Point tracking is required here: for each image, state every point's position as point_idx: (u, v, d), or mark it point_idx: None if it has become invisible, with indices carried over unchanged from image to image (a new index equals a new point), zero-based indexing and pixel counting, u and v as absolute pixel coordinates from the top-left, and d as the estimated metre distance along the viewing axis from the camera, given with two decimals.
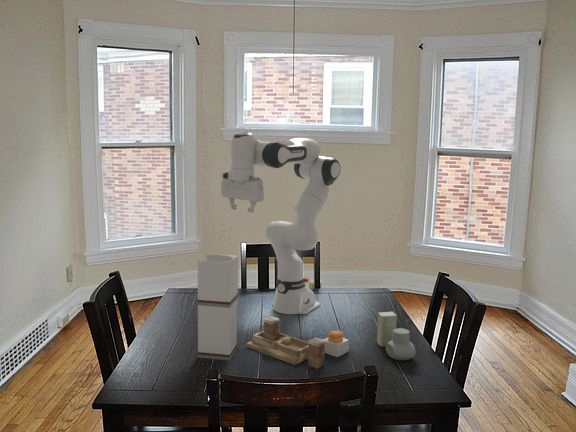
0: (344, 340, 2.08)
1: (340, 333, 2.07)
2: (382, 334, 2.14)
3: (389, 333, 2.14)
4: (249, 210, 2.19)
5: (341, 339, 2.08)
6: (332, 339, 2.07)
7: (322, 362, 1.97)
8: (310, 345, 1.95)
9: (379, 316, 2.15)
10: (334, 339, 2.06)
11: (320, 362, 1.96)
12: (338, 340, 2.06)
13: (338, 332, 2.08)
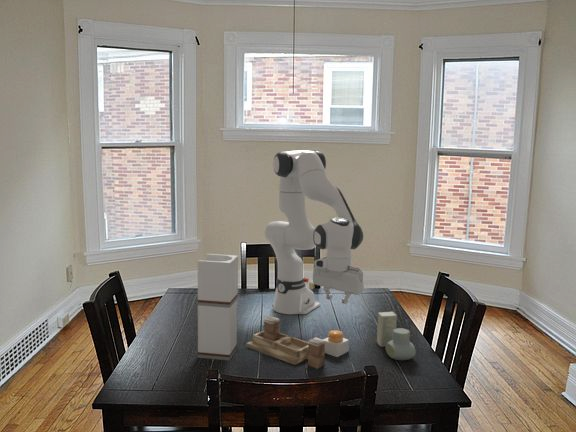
0: (344, 340, 2.08)
1: (340, 333, 2.07)
2: (382, 334, 2.14)
3: (389, 333, 2.14)
4: (343, 301, 2.03)
5: (341, 339, 2.08)
6: (332, 339, 2.07)
7: (322, 362, 1.97)
8: (310, 345, 1.95)
9: (379, 316, 2.15)
10: (334, 339, 2.06)
11: (320, 362, 1.96)
12: (338, 340, 2.06)
13: (338, 332, 2.08)
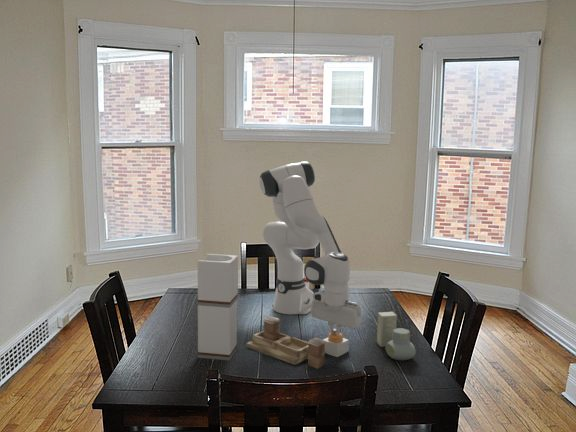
0: (344, 340, 2.08)
1: (340, 335, 2.08)
2: (382, 334, 2.14)
3: (389, 333, 2.14)
4: (335, 333, 2.07)
5: None
6: (332, 341, 2.07)
7: (322, 362, 1.97)
8: (310, 345, 1.95)
9: (379, 316, 2.15)
10: (334, 340, 2.06)
11: (320, 362, 1.96)
12: None
13: None
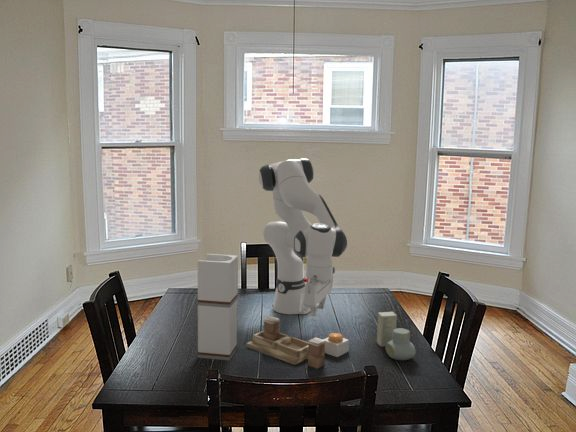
0: (344, 340, 2.08)
1: (340, 336, 2.08)
2: (382, 334, 2.14)
3: (389, 333, 2.14)
4: None
5: None
6: None
7: (322, 362, 1.97)
8: (310, 345, 1.95)
9: (379, 316, 2.15)
10: (334, 341, 2.07)
11: (320, 362, 1.96)
12: None
13: (338, 335, 2.09)
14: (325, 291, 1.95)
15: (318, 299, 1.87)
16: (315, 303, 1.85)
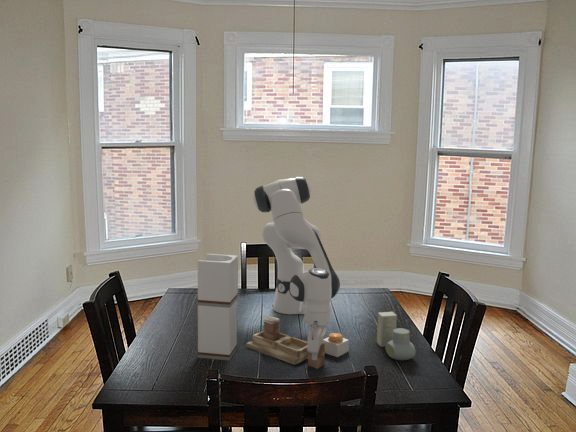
0: (344, 340, 2.08)
1: (340, 336, 2.08)
2: (382, 334, 2.14)
3: (389, 333, 2.14)
4: (312, 356, 1.93)
5: None
6: None
7: (322, 362, 1.97)
8: None
9: (379, 316, 2.15)
10: (334, 341, 2.07)
11: (320, 362, 1.96)
12: None
13: (338, 335, 2.09)
14: (323, 334, 1.98)
15: (319, 344, 1.90)
16: (318, 349, 1.87)
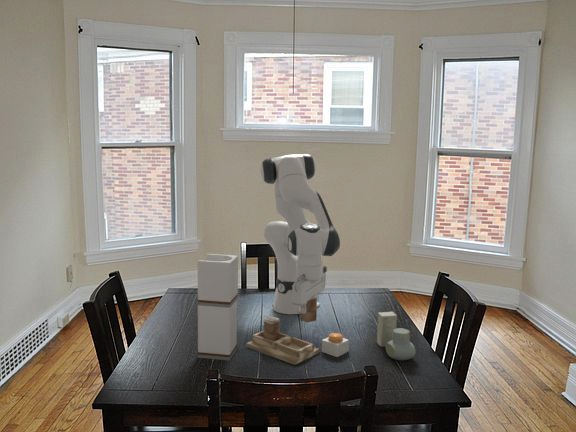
0: (344, 340, 2.08)
1: (340, 336, 2.08)
2: (382, 334, 2.14)
3: (389, 333, 2.14)
4: None
5: None
6: None
7: (314, 317, 1.98)
8: None
9: (379, 316, 2.15)
10: (334, 341, 2.07)
11: (312, 316, 1.98)
12: None
13: (338, 335, 2.09)
14: (316, 290, 1.99)
15: (306, 297, 1.92)
16: (302, 301, 1.90)
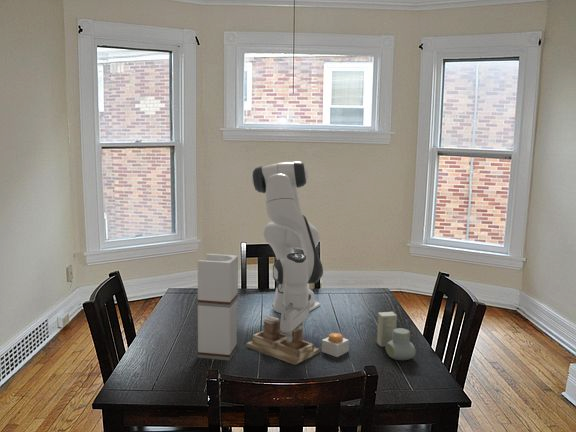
0: (344, 340, 2.08)
1: (340, 336, 2.08)
2: (382, 334, 2.14)
3: (389, 333, 2.14)
4: None
5: None
6: None
7: (299, 347, 2.05)
8: None
9: (379, 316, 2.15)
10: (334, 341, 2.07)
11: (298, 347, 2.04)
12: None
13: (338, 335, 2.09)
14: (302, 317, 2.06)
15: (294, 325, 1.98)
16: (290, 329, 1.96)
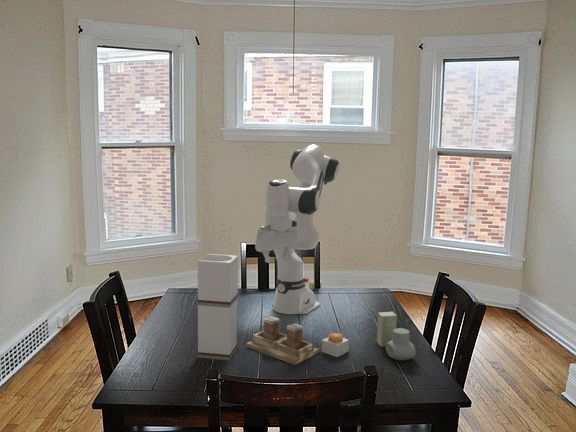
0: (344, 340, 2.08)
1: (340, 336, 2.08)
2: (382, 334, 2.14)
3: (389, 333, 2.14)
4: None
5: None
6: None
7: (299, 347, 2.05)
8: (288, 330, 2.04)
9: (379, 316, 2.15)
10: (334, 341, 2.07)
11: (298, 347, 2.04)
12: None
13: (338, 335, 2.09)
14: (285, 242, 2.14)
15: (270, 246, 2.08)
16: (264, 249, 2.06)
